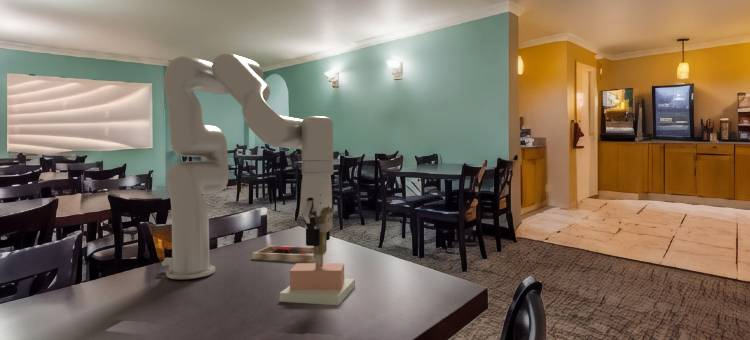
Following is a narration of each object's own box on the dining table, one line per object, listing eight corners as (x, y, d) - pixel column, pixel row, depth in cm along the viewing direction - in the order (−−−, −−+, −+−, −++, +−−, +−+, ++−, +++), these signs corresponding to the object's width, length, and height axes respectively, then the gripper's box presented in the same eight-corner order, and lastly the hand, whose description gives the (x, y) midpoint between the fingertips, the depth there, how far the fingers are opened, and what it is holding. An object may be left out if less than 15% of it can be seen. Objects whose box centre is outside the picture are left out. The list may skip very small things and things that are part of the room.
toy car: (302, 267, 126) (302, 251, 126) (265, 262, 132) (265, 247, 132) (314, 262, 132) (314, 247, 132) (277, 258, 138) (277, 243, 138)
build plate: (279, 301, 94) (279, 292, 94) (303, 283, 108) (303, 276, 108) (338, 305, 91) (338, 296, 91) (355, 286, 105) (354, 278, 105)
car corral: (252, 264, 129) (252, 253, 129) (270, 255, 141) (270, 245, 141) (312, 266, 125) (312, 255, 125) (325, 257, 137) (325, 247, 137)
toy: (328, 270, 96) (328, 207, 95) (301, 269, 97) (300, 206, 96) (337, 261, 103) (337, 202, 102) (311, 259, 104) (311, 201, 103)
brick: (290, 289, 96) (289, 270, 96) (296, 281, 103) (296, 263, 103) (341, 289, 96) (341, 270, 96) (344, 281, 103) (344, 263, 103)
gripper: (315, 168, 108) (316, 235, 108) (287, 169, 91) (288, 249, 91) (343, 167, 106) (343, 236, 107) (320, 169, 90) (320, 251, 90)
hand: (318, 242), depth 99 cm, fingers open, 6 cm apart
